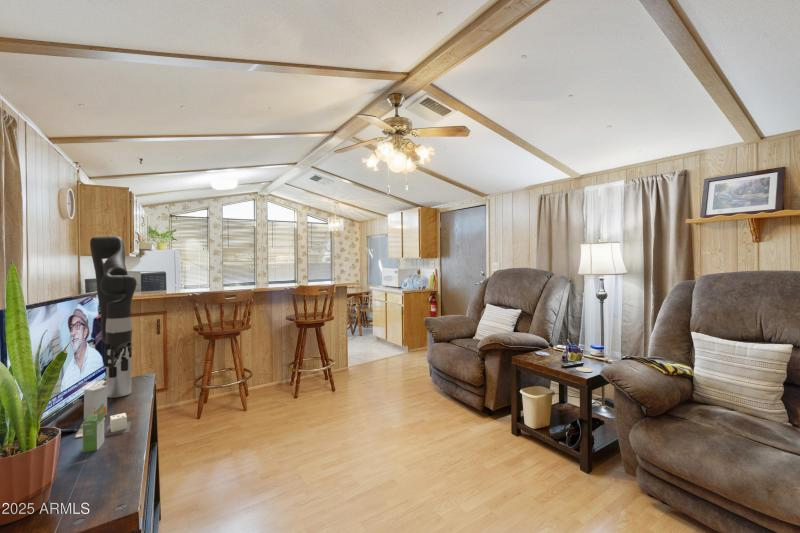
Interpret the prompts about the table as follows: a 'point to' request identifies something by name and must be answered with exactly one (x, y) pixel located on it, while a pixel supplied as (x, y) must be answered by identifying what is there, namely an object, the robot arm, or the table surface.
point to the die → (118, 422)
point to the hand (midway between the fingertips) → (118, 374)
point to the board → (80, 431)
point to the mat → (108, 431)
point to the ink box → (93, 431)
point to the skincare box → (95, 400)
